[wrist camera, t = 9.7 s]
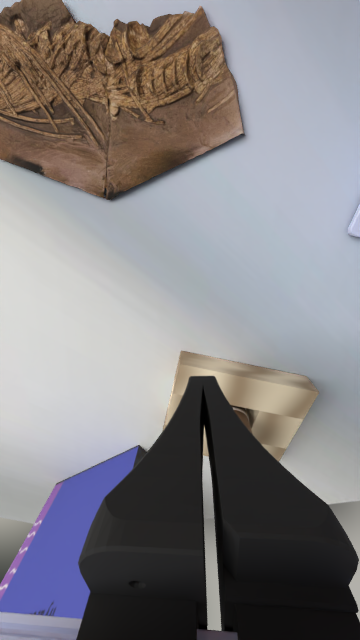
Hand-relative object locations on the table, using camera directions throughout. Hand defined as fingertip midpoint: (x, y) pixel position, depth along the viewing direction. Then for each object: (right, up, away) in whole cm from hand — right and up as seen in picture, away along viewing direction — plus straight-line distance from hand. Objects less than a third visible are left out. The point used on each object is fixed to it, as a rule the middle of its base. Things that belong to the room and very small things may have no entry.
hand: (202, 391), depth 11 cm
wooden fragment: (-9, +19, +5) cm, 22 cm away
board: (+5, -6, +14) cm, 16 cm away
